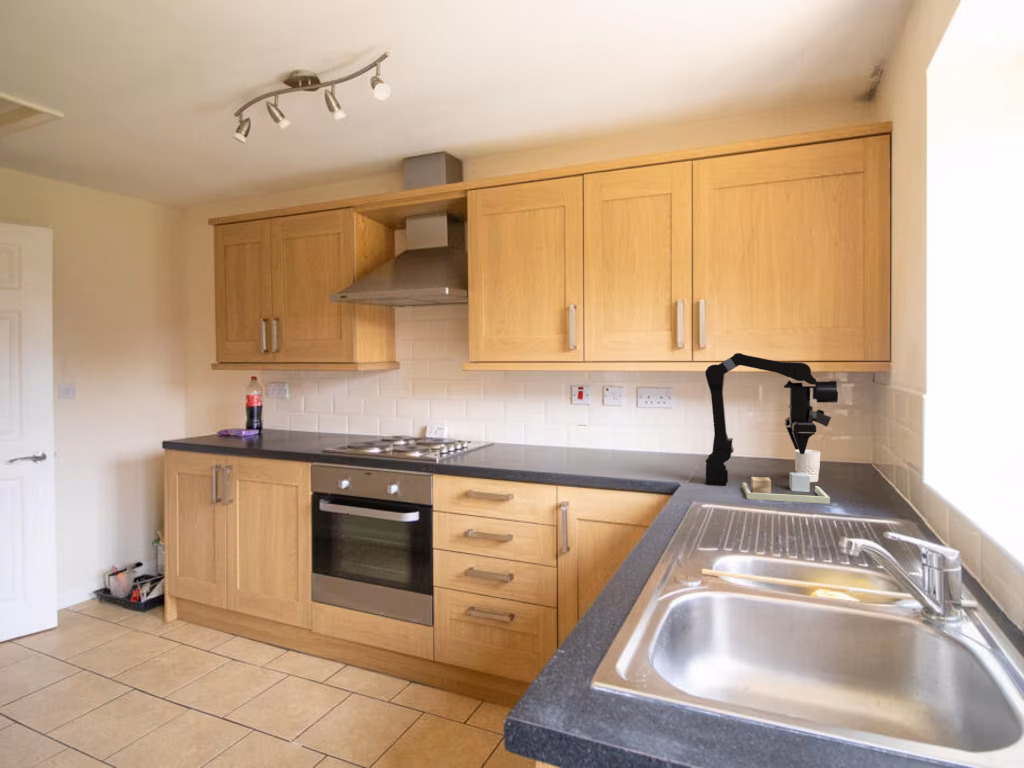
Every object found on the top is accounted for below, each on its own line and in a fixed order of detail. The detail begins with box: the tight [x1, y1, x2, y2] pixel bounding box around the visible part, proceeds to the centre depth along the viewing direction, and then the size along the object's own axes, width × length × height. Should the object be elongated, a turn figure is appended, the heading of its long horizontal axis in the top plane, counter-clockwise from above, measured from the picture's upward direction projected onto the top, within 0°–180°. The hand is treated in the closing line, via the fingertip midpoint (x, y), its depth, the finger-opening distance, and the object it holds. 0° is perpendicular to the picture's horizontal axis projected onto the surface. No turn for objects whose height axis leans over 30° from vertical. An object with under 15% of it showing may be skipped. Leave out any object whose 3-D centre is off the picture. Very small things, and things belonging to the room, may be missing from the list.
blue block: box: [788, 471, 811, 493], centre depth 184 cm, size 5×5×5 cm
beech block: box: [750, 476, 772, 494], centre depth 177 cm, size 5×5×5 cm
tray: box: [742, 482, 831, 505], centre depth 176 cm, size 22×15×2 cm
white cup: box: [794, 449, 822, 483], centre depth 197 cm, size 8×8×10 cm
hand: (799, 451), depth 183 cm, fingers open, 9 cm apart
